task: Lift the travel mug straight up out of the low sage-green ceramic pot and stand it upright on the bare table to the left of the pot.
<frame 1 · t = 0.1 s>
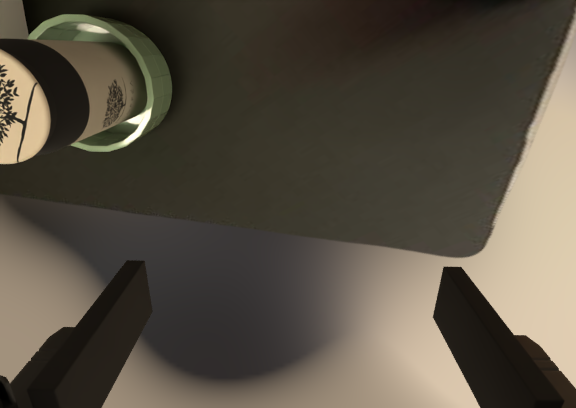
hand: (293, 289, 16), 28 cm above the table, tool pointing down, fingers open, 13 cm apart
travel mug: (115, 82, 40), resting on pot
pot: (115, 82, 40), on the table
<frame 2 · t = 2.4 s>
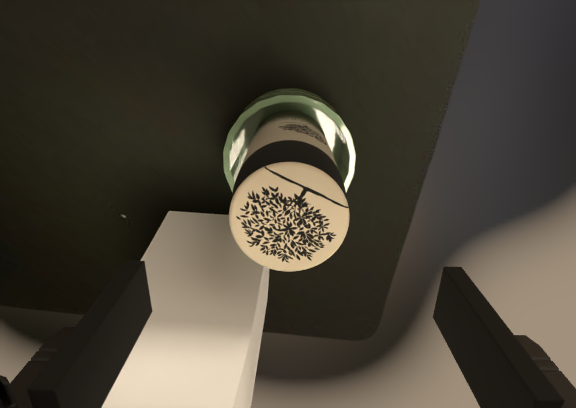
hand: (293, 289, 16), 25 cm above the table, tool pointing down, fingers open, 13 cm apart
milk: (221, 256, 45), on the table
travel mug: (289, 147, 39), resting on pot
pot: (289, 147, 40), on the table
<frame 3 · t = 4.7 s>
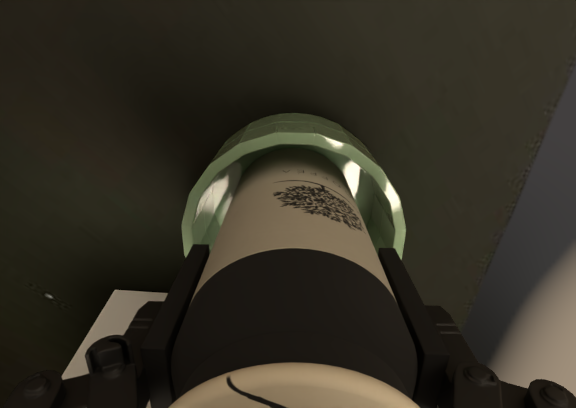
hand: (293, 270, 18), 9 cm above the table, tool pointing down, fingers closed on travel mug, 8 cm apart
milk: (194, 348, 31), on the table
travel mug: (292, 201, 26), resting on pot, touching gripper
pot: (292, 201, 26), on the table
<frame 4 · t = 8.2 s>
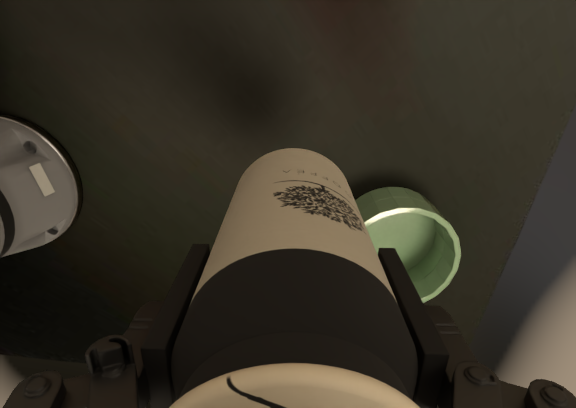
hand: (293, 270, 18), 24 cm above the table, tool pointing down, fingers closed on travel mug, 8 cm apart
travel mug: (292, 202, 26), point 16 cm above the table, touching gripper
pot: (387, 234, 44), on the table
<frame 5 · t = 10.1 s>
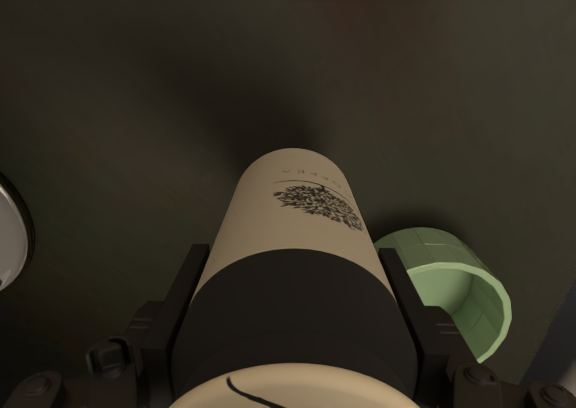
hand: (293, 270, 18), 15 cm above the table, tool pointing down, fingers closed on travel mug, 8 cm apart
travel mug: (292, 202, 26), point 6 cm above the table, touching gripper
pot: (412, 283, 36), on the table
when the fingers open (8 cm above the table, at t = 12.0 s): travel mug stays where it is, on the table.
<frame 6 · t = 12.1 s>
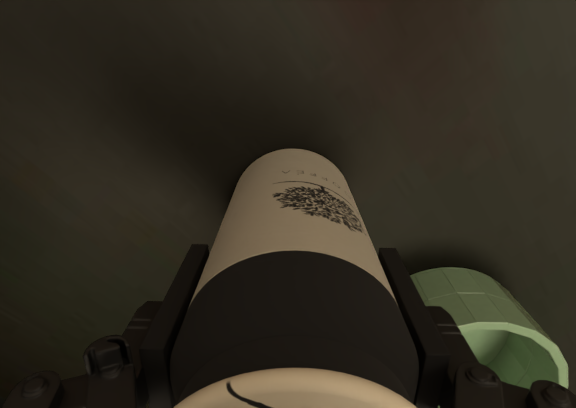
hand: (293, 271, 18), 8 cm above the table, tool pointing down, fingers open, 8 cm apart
travel mug: (292, 202, 26), on the table
pot: (437, 331, 30), on the table
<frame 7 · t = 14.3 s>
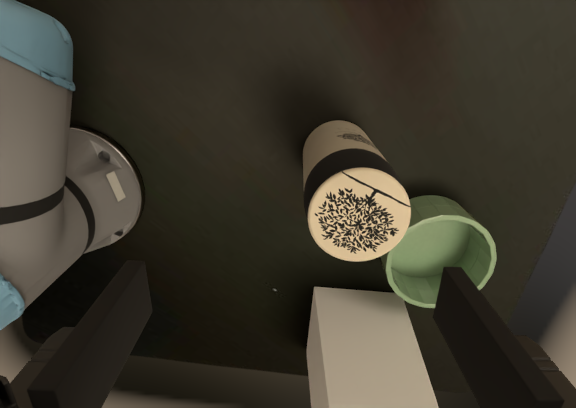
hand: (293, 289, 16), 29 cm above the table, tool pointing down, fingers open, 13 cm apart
milk: (351, 322, 53), on the table
travel mug: (336, 153, 43), on the table
pot: (424, 239, 47), on the table
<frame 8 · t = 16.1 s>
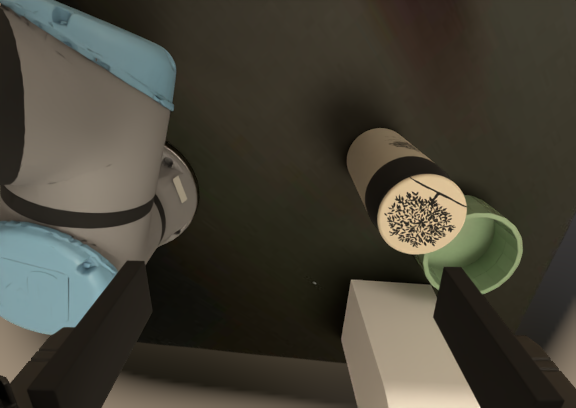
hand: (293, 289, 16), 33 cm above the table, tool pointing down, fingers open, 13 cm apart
milk: (383, 312, 57), on the table
travel mug: (376, 157, 48), on the table
pot: (453, 235, 52), on the table
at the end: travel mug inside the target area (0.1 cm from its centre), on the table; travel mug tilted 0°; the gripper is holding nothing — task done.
